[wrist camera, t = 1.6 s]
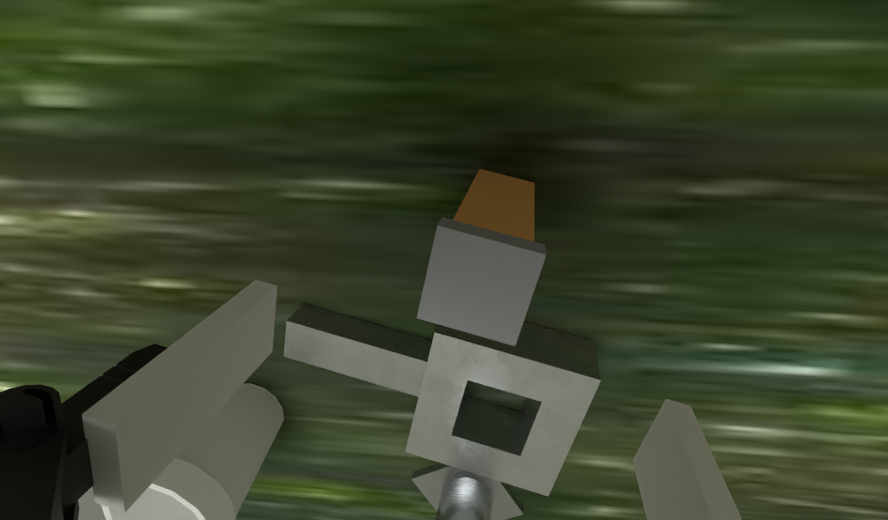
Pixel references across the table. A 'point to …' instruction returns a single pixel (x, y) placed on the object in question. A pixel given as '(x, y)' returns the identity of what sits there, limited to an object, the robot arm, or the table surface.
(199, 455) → the foam cup
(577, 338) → the grey angular stepped piece
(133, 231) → the table surface
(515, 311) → the wedge pin
